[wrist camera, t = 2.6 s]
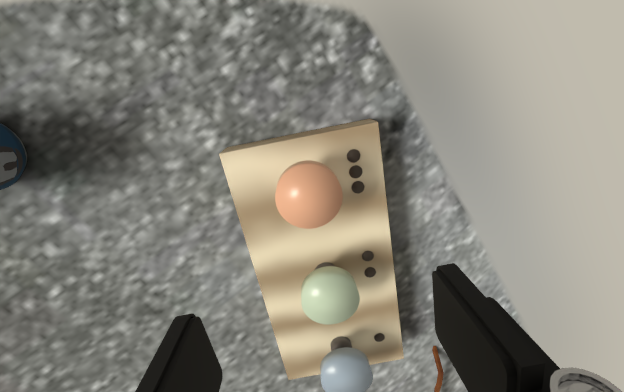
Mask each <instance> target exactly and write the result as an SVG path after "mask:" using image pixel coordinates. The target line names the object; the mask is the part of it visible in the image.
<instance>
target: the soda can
mask: <svg viewBox="0 0 624 392" xmlns="http://www.w3.org/2000/svg"><path fill="white" fill-rule="evenodd" d="M26 164H27V153H26V149H25V147H24V145H23V143H22V141H21V140H20V139H19V137H18V136H17V135H16V134H15V133H14V132H13V131H12V130H11V129H9V128H8V127H6V126H5V125H3V124H1V123H0V190H1V189H4V188H7V187H9V186H11V185H12V184H14V183H15V182H16V181H17V180H18V179H19V178H20V176H21V175H22V173H23V171H24V169H25V167H26Z"/></svg>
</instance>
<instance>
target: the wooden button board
mask: <svg viewBox="0 0 624 392" xmlns="http://www.w3.org/2000/svg"><path fill="white" fill-rule="evenodd" d="M219 155H220V158H221V162H222V165H223V168H224V171H225V175H226V178H227V181H228V184H229V188H230V191H231V194H232V197H233V201H234V204H235V207H236V210H237V214H238V217H239V220H240V223H241V227H242V230H243V233H244V236H245V240H246V243H247V246H248V249H249V253H250V256H251V259H252V262H253V265H254V269H255V272H256V275H257V278H258V282H259V285H260V288H261V291H262V295H263V298H264V301H265V304H266V308H267V311H268V314H269V317H270V321H271V324H272V327H273V330H274V334H275V337H276V340H277V343H278V347H279V350H280V353H281V356H282V360H283V363H284V366H285V369H286V373H287V376H288V379H289V380H290V379H296V378H301V377H307V376H312V375H317V374H321V372H320V365H321V361H322V360H323V358H324V357H325V356H326V355H327V354H328V353H329V352H331V351H333V350H335V349H339V348H344V347H349V348H355V349H358V350H360V351H362V352H363V353H364V354H365V355H366V356H367V358H368V360H369V364H370V365H371V364H376V363H382V362H387V361H393V360H398V359H403V358H404V357H403V347H402V338H401V329H400V320H399V311H398V301H397V292H396V283H395V274H394V265H393V255H392V246H391V237H390V228H389V219H388V209H387V200H386V191H385V182H384V173H383V163H382V154H381V145H380V136H379V127H378V122H377V121H374V120H372V119H366V120H361V121H356V122H351V123H346V124H341V125H336V126H331V127H326V128H321V129H316V130H311V131H306V132H301V133H296V134H291V135H286V136H281V137H276V138H272V139H267V140H262V141H257V142H252V143H247V144H242V145H237V146H232V147H227V148H226V149H224V150H223V151H222V152H221V153H220V154H219ZM306 160H311V161H317V162H320V163H322V164H324V165H326V166H328V167H329V168H330V169H331V170H332V171H333V172H334V174H335V175H336V177H337V179H338V181H339V183H340V185H341V188H342V194H343V200H342V205H341V208H340V210H339V212H338V213H337V215H336V216H335V217H334V218H333V219H332V220H331V221H330V222H329V223H327V224H325V225H323V226H321V227H318V228H312V229H305V228H299V227H296V226H294V225H292V224H290V223H288V222H287V221H286V220H285V219H284V218H283V217H282V216H281V214H280V213H279V211H278V209H277V206H276V202H275V193H276V188H277V183H278V180H279V178H280V176H281V175H282V173H283V172H284V171H285V170H286V169H287V168H288V167H289V166H291V165H293V164H295V163H297V162H300V161H306ZM326 266H335V267H339V268H342V269H344V270H346V271H348V272H349V273H350V274H351V275H352V276H353V278H354V280H355V282H356V286H357V289H358V292H359V296H360V302H359V306H358V308H357V310H356V312H355V313H354V314H353V315H352V316H351V317H350V318H348V319H347V320H345V321H343V322H340V323H337V324H329V325H328V324H320V323H317V322H315V321H313V320H311V319H310V318H309V317H308V316H307V315H306V314H305V313H304V311H303V308H302V304H301V287H302V283H303V281H304V279H305V278H306V277H307V276H308V275H309V274H310V273H311V272H312V271H314V270H316V269H318V268H321V267H326Z"/></svg>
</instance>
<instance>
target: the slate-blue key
mask: <svg viewBox="0 0 624 392" xmlns="http://www.w3.org/2000/svg"><path fill="white" fill-rule="evenodd" d="M320 372H321V383H322V387H323V389H324V390H325V391H326V392H365V391H366V390H367V389H368V388H369V387H370V385H371V383H372V380H373V375H372V372H371V368H370V364H369V360H368V358H367V356H366V355H365V354H364V353H363V352H362V351H360V350H358V349H355V348H349V347H344V348H339V349H335V350H333V351H331V352H329V353H328V354H327V355H326V356H325V357H324V358H323V360H322V361H321V365H320Z"/></svg>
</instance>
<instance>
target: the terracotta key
mask: <svg viewBox="0 0 624 392" xmlns="http://www.w3.org/2000/svg"><path fill="white" fill-rule="evenodd" d="M342 200H343V194H342V188H341V185H340V183H339V181H338V179H337V177H336V175H335V174H334V172H333V171H332V170H331V169H330V168H329V167H328V166H326V165H324V164H322V163H320V162H317V161H311V160H306V161H300V162H297V163H295V164H293V165H291V166H289V167H288V168H287V169H286V170H285V171H284V172H283V173H282V175H281V176H280V178H279V180H278V183H277V188H276V193H275V202H276V206H277V209H278V211H279V213H280V214H281V216H282V217H283V218H284V219H285V220H286V221H287V222H288V223H290V224H292V225H294V226H296V227H299V228H305V229H312V228H318V227H321V226H323V225H325V224H327V223H329V222H330V221H331V220H332V219H333V218H334V217H335V216H336V215H337V213H338V212H339V210H340V208H341V205H342Z"/></svg>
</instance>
